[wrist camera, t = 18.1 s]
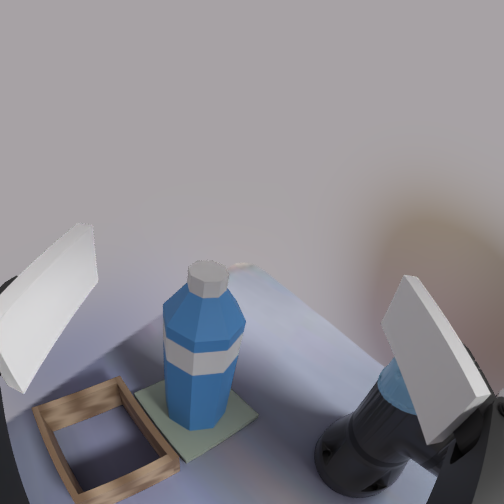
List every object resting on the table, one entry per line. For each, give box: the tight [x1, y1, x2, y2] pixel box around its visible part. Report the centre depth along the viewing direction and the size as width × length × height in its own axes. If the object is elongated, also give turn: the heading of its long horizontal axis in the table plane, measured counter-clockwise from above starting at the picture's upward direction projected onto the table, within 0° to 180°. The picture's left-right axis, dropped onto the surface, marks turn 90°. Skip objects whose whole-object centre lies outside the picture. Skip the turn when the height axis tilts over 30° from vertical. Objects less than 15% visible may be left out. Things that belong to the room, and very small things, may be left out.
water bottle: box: [163, 261, 246, 431], centre depth 35 cm, size 9×9×25 cm
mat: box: [134, 379, 259, 463], centre depth 41 cm, size 14×14×1 cm
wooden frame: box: [32, 376, 180, 504], centre depth 29 cm, size 15×15×6 cm
